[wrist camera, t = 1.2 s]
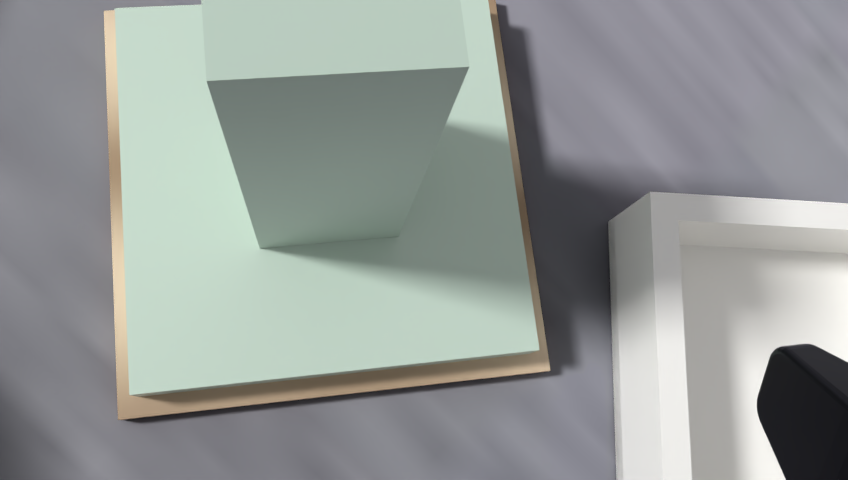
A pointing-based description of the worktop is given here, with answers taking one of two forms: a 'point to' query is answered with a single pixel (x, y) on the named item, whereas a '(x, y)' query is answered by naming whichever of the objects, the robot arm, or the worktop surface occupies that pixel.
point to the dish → (715, 324)
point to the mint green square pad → (318, 385)
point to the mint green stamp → (315, 191)
